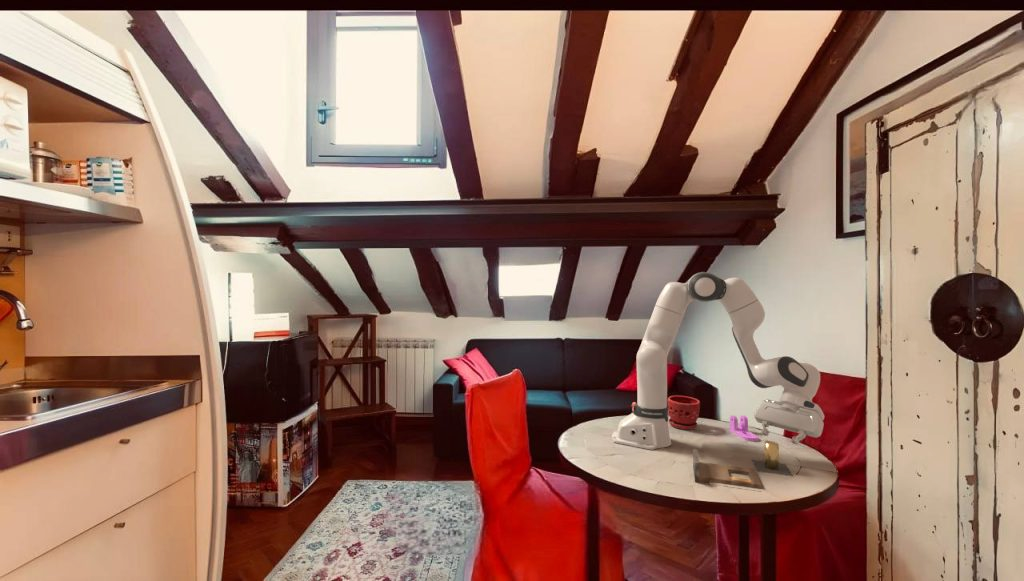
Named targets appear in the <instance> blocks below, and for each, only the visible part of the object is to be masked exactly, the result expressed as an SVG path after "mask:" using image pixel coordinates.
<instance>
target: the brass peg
mask: <svg viewBox="0 0 1024 581" xmlns="http://www.w3.org/2000/svg"><path fill="white" fill-rule="evenodd" d="M763 443H764V447H763V448H764V450H763V451H764V452H763V453H764V458H763V461H764V465H765V467H766V468H768V469H771V470H778V469H779V463H780V457H779V453H780V450H779V449H780V447H779V446H780V444H779V443H778V442H776V441H770V440H765V441H764V442H763Z"/></svg>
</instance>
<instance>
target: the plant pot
mask: <svg viewBox="0 0 1024 581" xmlns="http://www.w3.org/2000/svg"><path fill="white" fill-rule="evenodd" d="M667 406H668V410H669V419H668V424H669V425H671V427H674V428H676V429H682V430H693V429H696V427H697V426H698V423H697V420H698V418H699V416H700V412H701V411H700V408H701V401H700V400H699V399H698V398H695V397H690V396H685V395H671V396H669V397H668V396H667Z"/></svg>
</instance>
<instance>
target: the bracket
mask: <svg viewBox="0 0 1024 581" xmlns="http://www.w3.org/2000/svg"><path fill="white" fill-rule="evenodd" d="M748 419H749V418H748V416H747V415H740V417H739V419H738V417H737V415H733V414H732V415H730V417H729V431H730V432H732V433H733V434H735V435H736V436H737V437H739V438H740V439H742V440H743V441H748V442H758V440H759V438H758V435H756V434H755V433H753V432H751V431H750V430H749V420H748ZM738 420H739V421H738ZM738 422H739V423H738ZM738 425H739V426H738Z"/></svg>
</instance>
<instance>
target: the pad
mask: <svg viewBox="0 0 1024 581" xmlns="http://www.w3.org/2000/svg"><path fill="white" fill-rule="evenodd" d="M751 462H752V463H753V465H754V466H753V467H754V469H755V471H757V472H758V473H765V474H766V473H767V474H773V475H774V474H775V475H782V476H789V477H794V475H793V474H792V471H791V470H790V469H789V468H790V467H788V465H787V464H786V463H783V462H779V469H778V470H771V469H768V468H766V467H765V465H764V460H758V459H751Z"/></svg>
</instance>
